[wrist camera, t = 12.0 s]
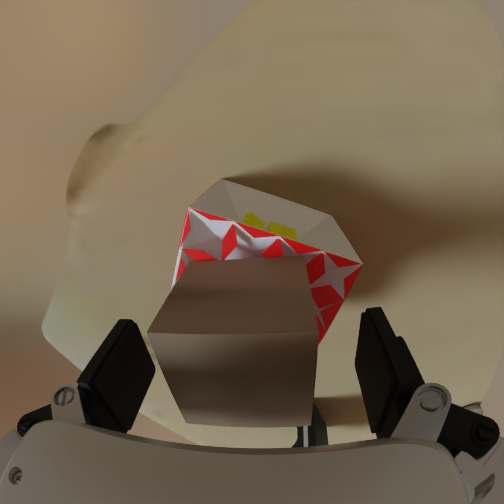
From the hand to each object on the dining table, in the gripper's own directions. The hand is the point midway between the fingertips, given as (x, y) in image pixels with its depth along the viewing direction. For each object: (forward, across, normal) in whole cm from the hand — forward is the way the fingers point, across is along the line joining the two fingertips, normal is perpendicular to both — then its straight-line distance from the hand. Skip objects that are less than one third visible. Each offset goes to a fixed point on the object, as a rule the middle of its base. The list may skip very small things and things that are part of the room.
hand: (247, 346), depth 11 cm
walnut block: (+2, 0, 0) cm, 3 cm away
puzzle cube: (+11, 0, 0) cm, 11 cm away
